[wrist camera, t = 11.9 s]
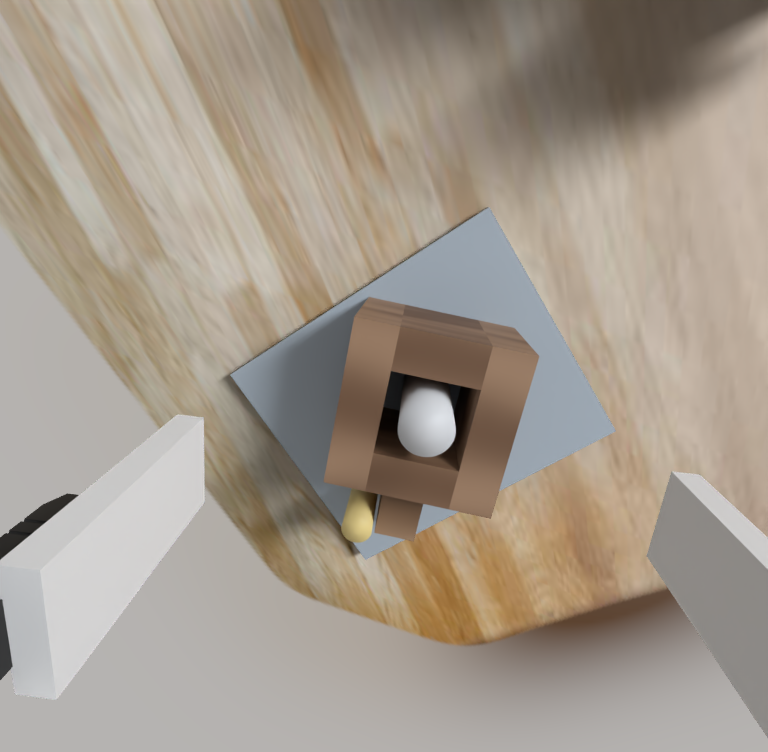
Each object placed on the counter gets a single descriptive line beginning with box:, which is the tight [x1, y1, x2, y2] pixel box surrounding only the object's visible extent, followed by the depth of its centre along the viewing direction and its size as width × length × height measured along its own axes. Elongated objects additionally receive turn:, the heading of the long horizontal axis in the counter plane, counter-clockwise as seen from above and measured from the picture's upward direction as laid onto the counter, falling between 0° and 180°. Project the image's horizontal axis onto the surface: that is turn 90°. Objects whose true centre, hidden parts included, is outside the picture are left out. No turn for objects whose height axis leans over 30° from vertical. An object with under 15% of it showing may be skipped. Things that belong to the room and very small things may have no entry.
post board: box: [230, 207, 616, 560], centre depth 30 cm, size 16×19×9 cm
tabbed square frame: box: [324, 297, 539, 541], centre depth 30 cm, size 13×9×7 cm
